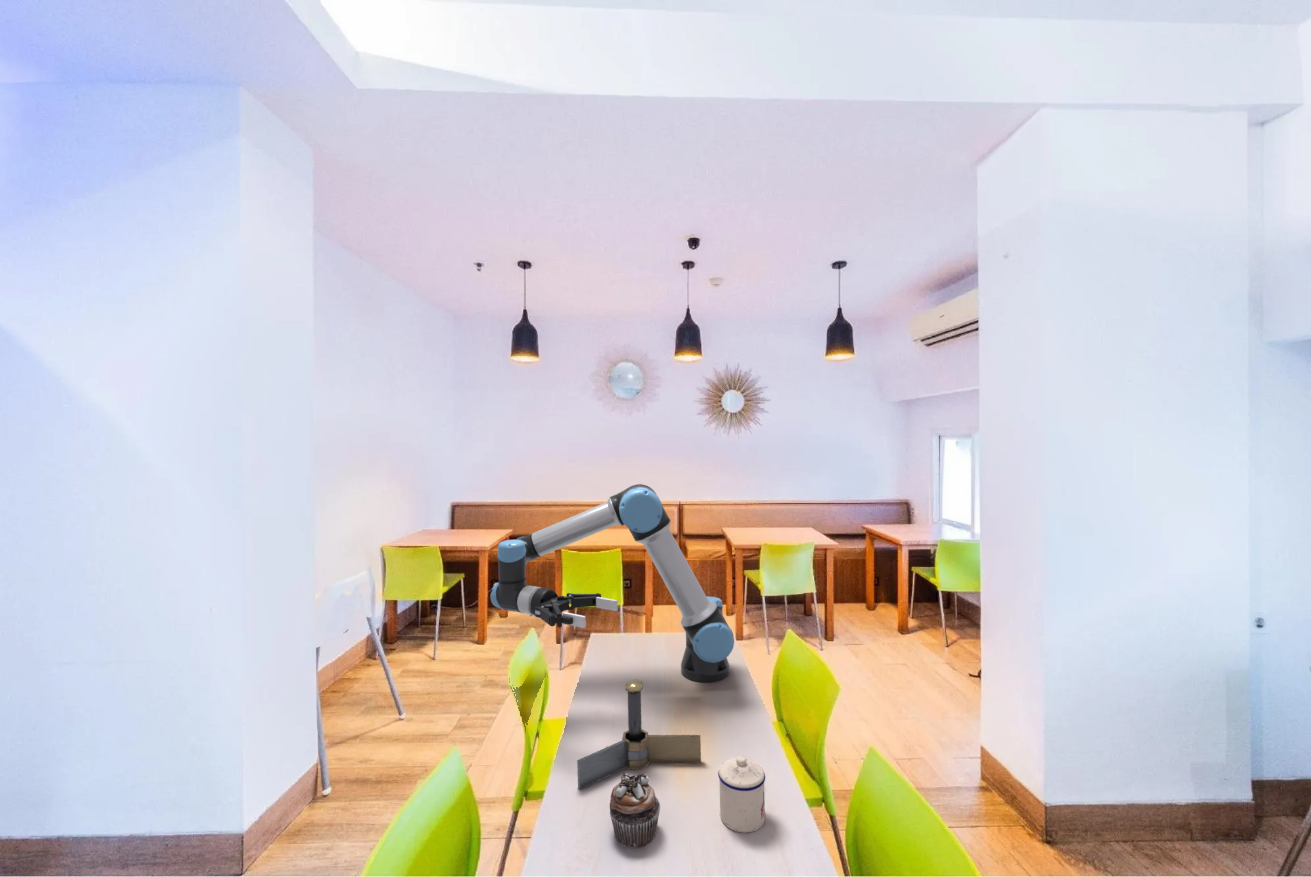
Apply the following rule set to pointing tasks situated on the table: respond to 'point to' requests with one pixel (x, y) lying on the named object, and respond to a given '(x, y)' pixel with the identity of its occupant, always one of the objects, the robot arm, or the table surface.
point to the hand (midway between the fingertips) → (601, 613)
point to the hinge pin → (634, 709)
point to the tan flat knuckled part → (664, 749)
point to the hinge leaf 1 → (605, 763)
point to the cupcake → (634, 811)
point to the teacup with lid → (742, 794)
